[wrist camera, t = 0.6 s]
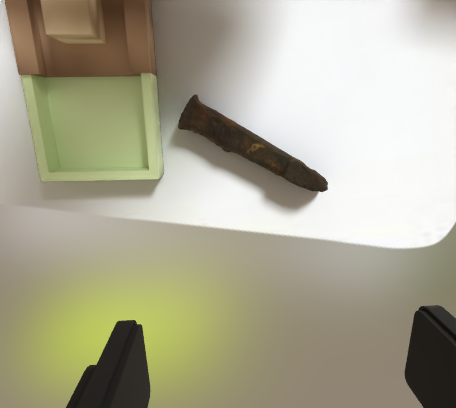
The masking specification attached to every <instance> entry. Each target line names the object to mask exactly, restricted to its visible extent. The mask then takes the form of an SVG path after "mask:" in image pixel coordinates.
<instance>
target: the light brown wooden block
mask: <svg viewBox="0 0 456 408" xmlns="http://www.w3.org/2000/svg"><path fill="white" fill-rule="evenodd" d="M41 6H42V12H43V18H44V24H45V31H46V34H47V35H49V36H51V37H53V38H55V39H57V40H59V41H62V42H64V43H66V44H106V36H105V27H104V18H103V9H102V1H101V0H41Z"/></svg>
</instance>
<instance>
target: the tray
mask: <svg viewBox="0 0 456 408" xmlns="http://www.w3.org/2000/svg"><path fill="white" fill-rule="evenodd" d="M21 79H22V84H23V89H24V95H25V100H26V105H27V111H28V116H29V121H30V126H31V132H32V137H33V142H34V148H35V153H36V158H37V164H38V169H39V174H40V179H41V182H53V181H97V180H141V179H160V178H161V176H162V175H163V174H164V169H163V156H162V143H161V129H160V116H159V103H158V89H157V77H156V76H155V75H153V74H151V73H141V76H117V77H40V76H35V75H21Z"/></svg>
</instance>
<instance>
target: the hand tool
mask: <svg viewBox="0 0 456 408" xmlns="http://www.w3.org/2000/svg"><path fill="white" fill-rule="evenodd" d="M178 128H179V129H181V130H191V131H193V132H195V133H199V134H200V135H203V136H204V137H206V138H207V139H209V140H210V141H212V142H213V143H215V144H216V145H218V146H220V147H222V148H223V150H224V151H226V152H233V153H237V154H239V155H241V156H243V157H244V158H246V159H248V160H250V161H252V162H254V163H256V164H258V165H260V166H262V167H264V168H266V169H268V170H270V171H272V172H273V173H275V174H276V175H279V176H282V177H283V178H285V179H286V180H288V181H289V182H291V183H294V184H295V185H297V186H300V187H303V188H305V189H308V190H310V191H320V192H324V191H326V190H327V189H328V187H327V185H328V183H327V181H326V179H325V178H324V177H323V176H321V175H320V174H319V173H317V172H316V171H315V170H312V169H310V168H309V167H307V166H306V165H305V164H304V163H303V162H302V161H300V160H298V159H296V158H294V157H292V156H290V155H289V154H287V153H286V152H284V151H282V150H281V149H279V148H277V147H275V146H274V145H272V144H270V143H269V142H267V141H266V140H264V139H263V138H261V137H259V136H257V135H256V134H254V133H252V132H251V131H249V130H247V129H246V128H244V127H242V126H240V125H239V124H237V123H236V122H234V121H232V120H230V119H228V118H227V117H225V116H224V115H222V114H220V113H219V112H217V111H216V110H213V109H211V108H209V107H207V106H205V105H204V104H202V103H201V102H200V101H199V99H198V96H197V95H194V96H193V97H192V98H191V99H190V100H189V102H188V104H187V105H186V107H185V109H184V111H183V113H182V114H181V118H180V120H179V126H178Z"/></svg>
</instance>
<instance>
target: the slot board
mask: <svg viewBox="0 0 456 408" xmlns="http://www.w3.org/2000/svg"><path fill="white" fill-rule="evenodd" d="M101 1H102V9H103V18H104V27H105V36H106V44H66V43H64V42H62V41H59V40H57V39H55V38H53V37H51V36H49V35H47V34H46V31H45V24H44V18H43V12H42V6H41V0H5V4H6V9H7V14H8V20H9V25H10V30H11V35H12V41H13V46H14V51H15V56H16V62H17V67H18V72H19V74H20V75H35V76H40V77H117V76H141V73H151V74H153V75H155V76H156V63H155V49H154V36H153V23H152V9H151V0H101ZM156 77H157V76H156Z"/></svg>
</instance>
